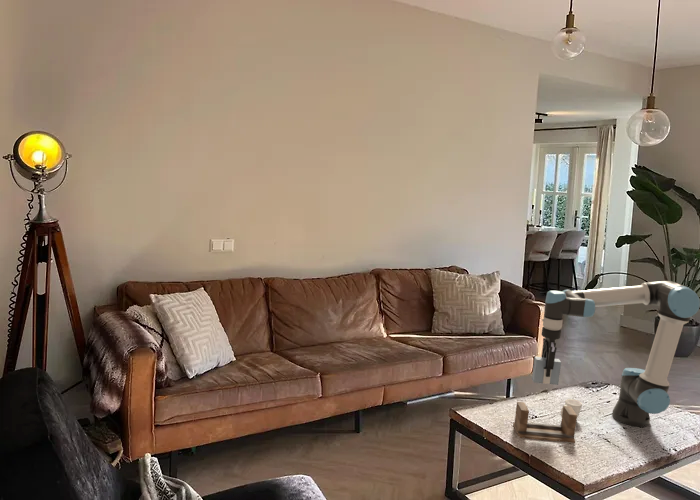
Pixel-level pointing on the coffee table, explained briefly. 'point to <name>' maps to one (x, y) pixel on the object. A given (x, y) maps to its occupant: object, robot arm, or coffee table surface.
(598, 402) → the coffee table surface
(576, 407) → the cup
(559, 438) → the wooden u-shaped holder
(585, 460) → the coffee table surface
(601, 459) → the coffee table surface
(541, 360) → the gray rectangular block
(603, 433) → the coffee table surface
